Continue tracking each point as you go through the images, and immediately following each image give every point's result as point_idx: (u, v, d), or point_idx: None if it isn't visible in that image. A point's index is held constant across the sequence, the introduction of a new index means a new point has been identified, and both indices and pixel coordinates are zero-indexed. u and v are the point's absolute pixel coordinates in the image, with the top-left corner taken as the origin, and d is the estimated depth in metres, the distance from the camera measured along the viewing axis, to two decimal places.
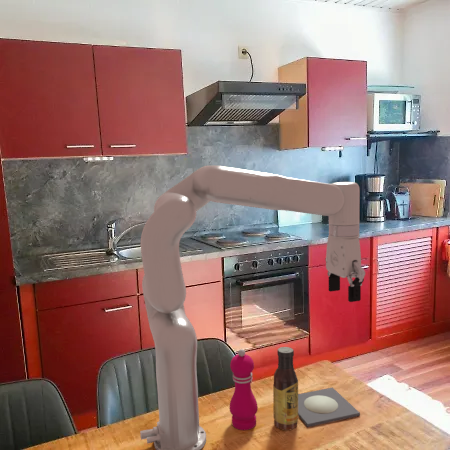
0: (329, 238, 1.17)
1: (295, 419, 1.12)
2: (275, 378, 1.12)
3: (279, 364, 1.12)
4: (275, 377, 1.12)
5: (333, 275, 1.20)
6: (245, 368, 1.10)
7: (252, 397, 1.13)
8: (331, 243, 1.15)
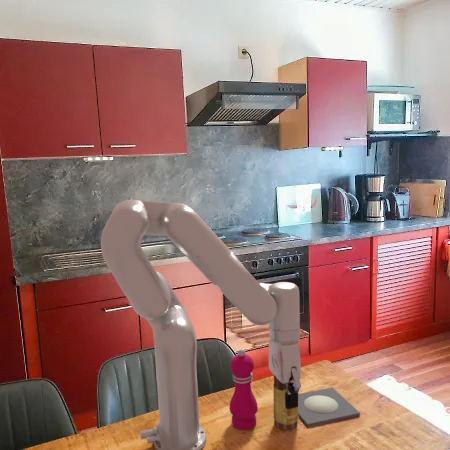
0: None
1: (295, 419, 1.12)
2: (275, 378, 1.12)
3: None
4: (275, 377, 1.12)
5: None
6: (245, 368, 1.10)
7: (252, 397, 1.13)
8: (272, 344, 1.12)
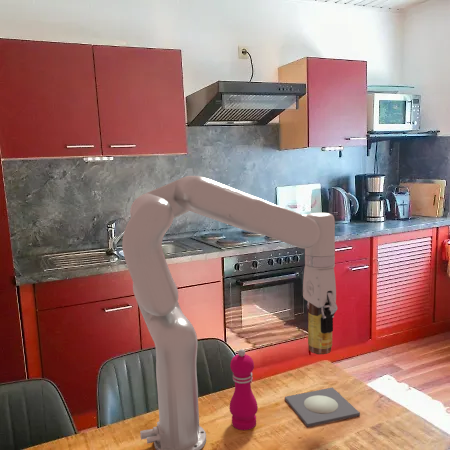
0: (305, 267, 1.18)
1: (330, 344, 1.17)
2: (311, 305, 1.16)
3: None
4: (311, 304, 1.17)
5: None
6: (245, 368, 1.10)
7: (252, 397, 1.13)
8: (307, 273, 1.17)
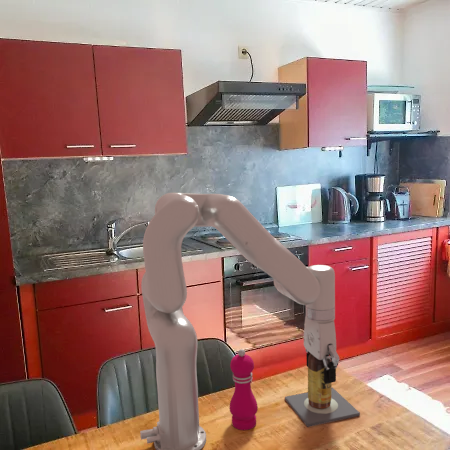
0: None
1: (329, 398, 1.19)
2: (310, 360, 1.19)
3: None
4: (310, 359, 1.19)
5: None
6: (245, 368, 1.10)
7: (252, 397, 1.13)
8: (308, 324, 1.19)
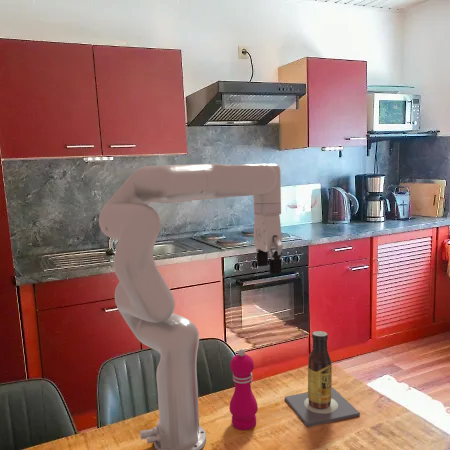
0: (255, 216, 1.26)
1: (329, 398, 1.19)
2: (310, 360, 1.19)
3: (314, 347, 1.19)
4: (310, 359, 1.19)
5: (261, 251, 1.30)
6: (245, 368, 1.10)
7: (252, 397, 1.13)
8: (256, 220, 1.25)
